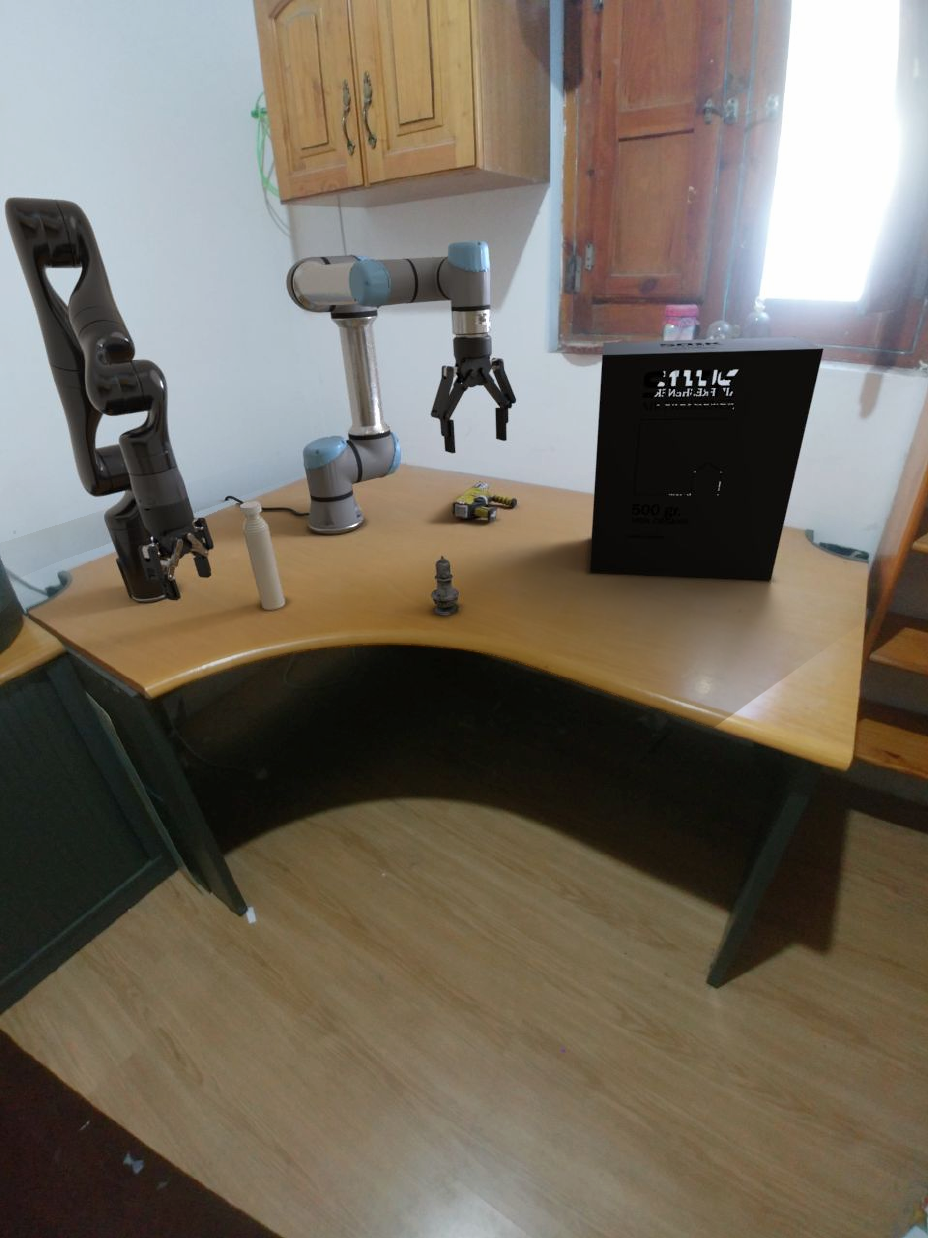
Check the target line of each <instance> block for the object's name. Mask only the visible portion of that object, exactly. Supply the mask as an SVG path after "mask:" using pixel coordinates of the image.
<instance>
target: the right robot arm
mask: <svg viewBox="0 0 928 1238" xmlns="http://www.w3.org/2000/svg"><path fill="white" fill-rule="evenodd" d="M490 263H491V262H490V252H489V245H488V244H487V242H485V241H484V240H466V241H455V242H451V243H450V244H449V245H448V247H447V256H431V257H430V256H427V257H413V258H411V257H410V258H391V259H390V258H386V259H374V258H370V257H369V256H367V255H358V254H349V255H328V256H326V255H325V256H310V257H305V258H302V259H300V260H298V261H296V262H295V263H293V265H291V267H290V268H289V269H288V272H287V275H286V281H285V282H286V283H285V284H286V285H285V286H286V290H287V293H288V296H289V297H290V299H291V300H292V303H294V304H295V305H296V306H298V307H299V308H300V309H302V310H304V311H306V312H310V313H318V314H319V313H320V314H321V313H330V320H331V321H332V322H333V323H334V324H335V325H336V326H337V327H338V332H339V333H338V334H339V339H340V347H341V355H342V361H343V369H344V375H345V382H346V383H345V384H346V389H347V396H348V404H349V410H350V418H351V425H350V426H349V428H348V430H347V436H348V439H345V437H343V436H341V435H332V436H324V437H321V438H318V439H315V440H312V441H311V442H309V443H308V444H306V445H305V446H304V448H303V450H302V457H303V459H302V460H303V467H304V471H305V476H306V481H307V486H308V492H309V498H310V507H309V512H297V511H295V510H294V509H293V508H290V507H284V506H281V507H280V506H278V507H277V506H275V507H274V506H273V507H262V506H261V509H262V511H286V512H291V513H292V514H293V515H295V516H297V517H308V521H307V522H308V523H307V524H308V528H309V529H308V530H310V531H311V532H312V533H314V534H317V535H323V536H324V535H325V536H327V535H329V536H331V535H339V534H340V535H341V534H345V533H350V532H353V531H355V530H357V529H359V528H361V527H362V526H363V525H364V523H365V519H364V514H363V512H362V508H361V505H359V504H358V501H357V500H356V498H355V495H354V489H353V485H354V484H355V485H356V484H359V483H363V482H368V481H371V480H375V479H381V478H385V477H387V476H390V475H392V474H394V473H396V472H397V470H398V469H399V467H400V465H401V462H402V446H401V443H400V441H399V437H398V436H397V435H396V434H395V432H394V431H391V426H390V425H388V423H386V422H385V420H384V419H385V418H384V410H383V402H382V393H381V385H380V377H379V368H378V367H379V366H378V358H377V349H376V341H375V331H374V324H375V322H376V320H377V319H378V317H379V314H378V309H379V308H381V307H385V306H394V305H403V304H405V305H406V304H417V303H419V304H420V303H427V302H428V303H429V302H444V301H448V302H449V301H450V311H451V313H450V314H451V315H450V316H451V334H453V335H454V337H453V339H452V350H453V358H454V359H455V363H454V366H452V365H442V366H441V373H440V374H441V375H440V376H441V377H440V381H439V384H438V388H437V390H436V395H435V398H434V401H433V404H432V407H431V411H430V416H431V418H435V419H438V421H439V426H440V435H441V437H443V441H444V442H443V443H444V452H446V453H450V454H456V433H455V420H454V419H451V418H452V416H453V414H454V413H455V410H456V409H457V406H458V404H459V402H460V401H461V399H462V397H463V396H464V393H465V392H466V391H468V389H469V388H474V387H477V386H478V387H482V386H483V387H484V389H485V390H486V391H487V392H488V394H489V396H491V398H492V399H493V401H494V402H495V403H496V405H497V406H498V407H495V408H494V410H495V411H494V413H495V414H494V415H495V439H496V440H499V441H502V442H507V441H508V438H507V435H508V433H507V424H509V410H510V409H512V407H513V404H516V403H517V398H516V394H515V393H514V390H513V388H512V385H511V383H510V380H509V378H508V375H507V373H506V370H505V363H504V362H505V361H504V359H503V358H499V357H493V358H491V356H492V354H493V346H492V344H493V343H492V340H493V339H492V336H491V335H489V333H491V332H492V315H491V314H492V312H491V311H492V309H491V264H490ZM491 370H492V374H493V376H494V378H493V376H492V375H491ZM455 377H456V378H455ZM454 378H455V380H454ZM495 381H496V383H497V384H496V383H495ZM229 499H231V500H234V501H235V502H237V503H239V504H240V505H241V504H243V503H245V502H243V500H241V499H239V498H237V497H235V496H233V495H227V496H225V498H224V501H228V500H229Z"/></svg>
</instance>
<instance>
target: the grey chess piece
mask: <svg viewBox="0 0 928 1238" xmlns="http://www.w3.org/2000/svg"><path fill="white" fill-rule="evenodd" d="M453 578H454V576H453V574H452V572H451V562H450V560H448V559H446V558H445V556H444V555H441V556H440V559H438V560H436V561H435V576H434V579H435V580H436V588H435V589H434V590H432V591H431V592H430V598H431V599H432V602H433V603H434V605H435V606H434V607H433V613H434V614H436V615H438V616H452V615H455V614H456V613H458V612H459V610H460V606H459V605H458V604H457V602H458V600H459V596H460V594H461V593H460V591H459V589H457V588H456V587H453V581H452V579H453Z"/></svg>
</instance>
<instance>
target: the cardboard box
mask: <svg viewBox="0 0 928 1238" xmlns="http://www.w3.org/2000/svg"><path fill="white" fill-rule="evenodd" d="M601 353H602V355H601V371H600V388H599V389H600V390H599V405H598V423H597V439H596V454H595V455H596V456H595V472H594V473H595V474H594V487H593V488H594V491H593V505H592V506H593V509H592V526H591V540H590V541H591V543H590V559H589V574H614V575H637V576H638V575H641V576H660V577H663V576H664V577H686V578H708V579H709V578H710V579H730V580H731V579H733V580H735V579H736V580H754V581H755V580H756V581H757V580H758V581H772V577H773V573H774V569H775V565H776V560H777V557H778V556H777V555H778V551H779V548H780V543H781V537H782V534H783V529H784V526H785V520H786V515H787V511H788V507H789V502H790V499H791V495H792V489H793V486H794V481H795V476H796V472H797V467H798V464H799V459H800V454H801V451H802V445H803V441H804V436H805V433H806V428H807V424H808V419H809V415H810V412H811V411H810V410H811V406H812V403H813V397H814V392H815V388H816V384H817V380H818V376H819V371H820V366H821V361H822V359H823V358H822V357H823V353H824V347H821V346H818V345H816V344H813V343H811V342H808V341H805V340H804V339H801V338H798V337H796V336H771V337H769V336H768V337H766V336H765V337H737V338H708V339H707V338H706V339H679V340H678V339H675V340H673V339H672V340H649V341H648V340H645V341H617V342H616V341H615V342H614V341H613V342H603V343H602V352H601ZM736 370H737V371H736ZM677 371H678V375H677V376H676V377H675V382H674V383H675V385H672V383H673V376H671V374H672V373H674V372H677ZM685 371H689V372H690V374H689V382H691V385H687V379H688V377H687V375H685ZM699 371H701V373H700V375H698V372H699ZM715 371H716V375H715ZM733 371H736V373H734V375H729V373H730V372H733ZM714 375H715V376H716V377H715V380H714ZM719 377H720V378H719ZM700 381H701V382H705V385H700ZM713 381H715V382H714V383H713ZM719 381H729V382H728V384H725V385H724V384H720V383H719ZM660 383H663V384H664V385H660Z"/></svg>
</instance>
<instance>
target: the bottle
mask: <svg viewBox="0 0 928 1238" xmlns="http://www.w3.org/2000/svg"><path fill="white" fill-rule="evenodd" d="M244 516H245V518H244V523H243V526H242V533H243V536H244V539H245V544H246V548H247V553H248V555H249V561H250V564H251V568H252V571H253V576H254V580H255V584H256V588H257V593H258V596H259V600H260V605H261V607H262V609H263V610H268V611H273V610H278V609H280V608H282V607H284V606H285V605H286V602H287V601H286V598H285V594H284V588H283V585H282V580H281V576H280V571H279V567H278V563H277V558H276V554H275V550H274V544H273V541H272V537H271V536H272V535H271V532H270V531H271V530H270V527H269V525H268V522H266V520H265V519H264V518H263V516H261V514H260V513H257V514H254V515H244Z"/></svg>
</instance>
